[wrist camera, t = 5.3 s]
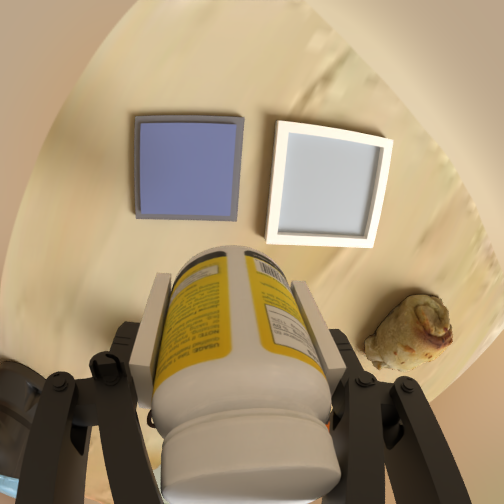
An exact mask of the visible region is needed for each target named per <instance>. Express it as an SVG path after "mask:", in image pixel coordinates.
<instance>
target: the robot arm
mask: <svg viewBox="0 0 504 504" xmlns="http://www.w3.org/2000/svg"><path fill="white" fill-rule="evenodd" d="M290 290H291V292H292V294H293V296H294V299H295V302H296V304H297V306H298V309H299V312H300V314H301V316H302V319H303V321H304V324H305V326H306V328H307V331H308V334H309V336H310V338H311V341H312V344H313V346H314V349H315V351H316V354H317V357H318V359H319V362H320V364H321V367H322V370H323V372H324V374H325V377H326V379H327V382H328V385H329V389H330V393H331V401H332V402H331V403H332V406H333V409H332V411H331V413H330V415H329V418H328V420H327V422H326V425H328V423H329V421H330V426H329V434H330V435H331V437H332V440H333V446H334V450H335V453H336V457H337V460H338V464H339V467H340V472H341V478H340V481H339V483H338V484H337V485H336V486H335V487H334V488H333V489H332V490H331V491H330V492H329V493H327V494H326V495H324V496H323V497H322V504H385V467H384V466H385V465H386V469H387V472H388V476H389V479H390V483H391V486H392V490H393V493H394V497H395V500H396V504H472V503H471V500H470V497H469V495H468V492H467V489H466V487H465V484H464V482H463V479H462V477H461V474H460V472H459V469H458V467H457V465H456V462H455V460H454V457H453V455H452V453H451V450H450V448H449V446H448V443H447V441H446V439H445V437H444V435H443V433H442V430H441V428H440V426H439V424H438V422H437V420H436V417H435V415H434V414H433V411H432V409H431V407H430V405H429V403H428V401H427V399H426V397H425V395H424V393H423V391H422V389H421V387H420V385H419V384H418V383H417V381H415V380H414V379H413V378H410V377H408V376H401V377H398V378H397V379H396V380H395V382H394V383H386V382H380V381H377V379H376V378H375V376H374V375H373V374H371V373H369V372H367V371H364V370H363V368H362V366H361V364H360V362H359V360H358V358H357V356H356V354H355V352H354V350H353V348H352V346H351V344H350V343H349V341H348V339H347V337H346V335H345V334H344V333H342V332H341V331H340V330H339V329H328V327H327V325H326V323H325V321H324V319H323V317H322V315H321V313H320V310H319V308H318V306H317V304H316V302H315V300H314V298H313V296H312V294H311V292H310V290H309V288H308V286H307V284H306V282H305V281H292V282H291V287H290ZM170 296H171V274H167V273H157V274H156V277H155V280H154V283H153V286H152V289H151V292H150V295H149V298H148V301H147V304H146V307H145V310H144V314H143V317H142V320H141V323H134V322H124V323H123V324H122V325H121V326H120V327H119V328H118V330H117V332H116V335H115V338H114V340H113V344H112V346H111V348H110V351H104V352H100V353H98V354H96V355H94V356H93V357H92V359H91V360H90V363H89V367H90V370H91V373H92V376H93V377H91V378H87V379H76V380H74V378H73V376H72V375H71V374H69V373H67V372H55V373H53V374H51V375H50V376H49V377H48V378H47V379H46V380H45V379H44V378H43V377H41V376H40V375H39V374H37V373H36V372H34V371H33V370H31V369H29V368H27V367H25V366H23V365H21V364H18V363H15V362H11V361H6V362H3V363H1V364H0V492H1V493H4V494H6V495H8V496H11V497H13V498H16V502H15V504H84V492H85V480H86V469H87V460H88V452H89V444H90V437H91V430H92V426H97V425H99V431H100V438H101V444H102V450H103V455H104V461H105V466H106V471H107V475H108V480H109V484H110V488H111V493H112V497H113V500H114V504H164V502H163V500H162V497H161V494H160V491H159V488H158V485H157V482H156V480H155V476H154V473H153V470H152V467H151V464H150V460H149V457H148V453H147V450H146V446H145V443H144V439H143V435H142V431H141V428H140V424H139V419H138V415H137V412H136V407H137V402H138V405H139V408H147V409H151V399H152V393H153V387H154V380H155V375H156V369H157V363H158V357H159V351H160V346H161V341H162V336H163V330H164V325H165V320H166V315H167V310H168V305H169V301H170ZM384 462H385V465H384Z"/></svg>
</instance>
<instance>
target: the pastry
mask: <svg viewBox="0 0 504 504" xmlns="http://www.w3.org/2000/svg"><path fill="white" fill-rule="evenodd" d="M452 338H453V334H452V326H451V324H450V319H449V311H448V310H447V308H446V307H445V306H444V305H443V302H442V299H439V298H437V297H434V296H431V297H430V296H429V295H413V296H409V297H407V298H406V299H405V300H404V301H403V302H402V303H401V304H400V305H398V306H397V307H396V308H395V309H393V310H392V312H390V313H389V315H388V316H387V317H386V319H385V320H384V321H383V322H382V323H381V324H380V326H379V327H378V329H377V330H376V331H375V333H374V335H370V336H369V337H368V338H367V339H366V340H365V342H364V343H365V352H366V357H367V359H368V360H370V361H372V363H373V366H374V367H376V368H377V369H378V370H381V369H382V368H388V369H392V370H393V369H394V370H398V371H401V372H406V371H410V370H413V369H414V368H416V367H418V366H420V365H421V364H422V363H424V362H430V361H433V360H435V359H436V358H437V357H439V356H440V355H441V353H442V352H444V350H445V349H446V348H447V347H448V346H449V345H450V344H451V343H452V342H453V340H452Z"/></svg>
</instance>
